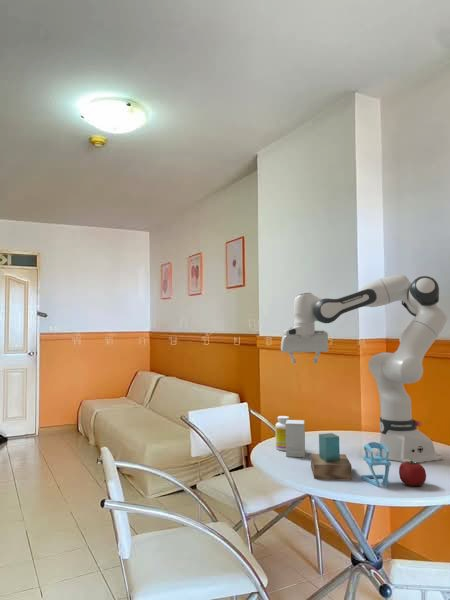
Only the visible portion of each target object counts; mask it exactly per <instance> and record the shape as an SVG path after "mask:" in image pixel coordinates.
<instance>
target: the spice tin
mask: <svg viewBox="0 0 450 600" xmlns="http://www.w3.org/2000/svg"><path fill="white" fill-rule="evenodd" d="M318 449H319V451H318V454H319V458H321V459H322V460H324V461H325V462H332V461H340V450H341V449H340V436H339V435H337V434H335V433H333V432H329V433H318Z"/></svg>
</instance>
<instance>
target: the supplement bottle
mask: <svg viewBox="0 0 450 600" xmlns="http://www.w3.org/2000/svg"><path fill="white" fill-rule="evenodd" d="M286 420H290V417H289V416H288V415H287V416H286V415H278V416H277V421H278V422H276V423H275V425H274V426H275V448H276V450H278V451H285V452H286Z"/></svg>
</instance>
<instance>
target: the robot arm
mask: <svg viewBox="0 0 450 600" xmlns="http://www.w3.org/2000/svg"><path fill="white" fill-rule="evenodd" d="M398 301H400V302H401V305H402V306H403V307H404V308H405V309H406V311H407V312H408V313H409V314H410V315H411V316H413V319H412V320H411V321H410V323H409V324H408V326H406V328H405V329H404V331H403V332H402V333H401V334H400V336H399V340H398V341H399V346H398V348H397V349H396V351H394V352H384V351H383V352H379V353H376V354H374V355H373V356H371V357H370V358H369V360H368V369H369V371H370V373H371V374H372V376H373V377H374V381H375V383H376V387H377V391H378V395H379V403H380V404H379V405H380V407H379V408H380V417H379V431H380V439H379V443H380V444H383V445H385V446H387V448H388V451H389V455H388V460H391V461H396V462H401V463H404V462H406V461H408V462H410V461H413V462H417V463H424V462H423V461H427V462H431V461H430V460H436V461H438V460H437V459H442V460H443V456H442V455H441V453H439V452H438V451H436V450H435V446H434V443H433V441H432V440H431V438H429V436H427V435H425V434H424V433H423V432H421V431H420V430H419V429H418V428H417V427H419V428H421V427H422V426H423V424H422V421H420V420H416V419H414V418H413V415H412V399H411V396H410V395H409V393H407V391H406V388H405V386H404V385H408V384H415V383H416V382H419V381H420V380H421V379H422V377H423V375H424V366H423V360H424V358H425V355H426V353H427V351H428V350H429V349H430V348H431V347H432V345H433V343H434V342H436V340H437V338H438V337H439V336H440V334H441V332H442V331H443V330H444V327H445V325H446V323H447V320H448V319H447V314H446V313H445V311H444V310H442V309H441V308H440V307H438V306H437V304H438V303H439V302H440V288H439V284H438V282H437V280H436V279H435V278H433V277H431V276H428V275H422V276H418V277H417V278H415V279H414V280H413V281H412V282H411V281H410V279H409V278H408V277H407V276H406V275H405V274H394V275H390V276H386V277H383V278H382V277H381V278H379V279H376V280H373V281H372V282H369V283H368V284H366V285H364V286H363V287H362V288H361V289H359V290H358V291H356V292H354V293H350V294H349V295H346V296H342V297H339V298H321V297H318V296H316V295H315V294H313V293H312V292H305V293H301V294H298V295H296V296H295V297H294V300H293V317H294V321H293V327H289V328H287V329H284V330H283V332H282V333H283V336H282V337H281V342H280V351H281V352H282V353H289V357H290V359H291V363H292V364H296V363H297V359H296V358H295V357H294V353H315V355H316V357H315V358H313V363H314V364H318V363H319V358H320V357H321V353H327V352H328V351H329V342H328V341H329V340H328V339H329V333H328V332H327V331H326V330H315V329H316V327H315V322H319V323H322V324H331V323H333V322H335V321H336V320H337V319H338V318H339V317H340V316H342V315H343V314H345V313H348V312H350V311H354V310H357V309H360V308H367V307H368V308H377V307H382V306H385V305H388V304H391V303H395V302H398ZM379 452H380V449H378V451H377V456H379ZM386 454H387V453H386V451H385V449H382V456H383V457H384V458H385V457H386Z"/></svg>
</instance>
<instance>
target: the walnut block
mask: <svg viewBox="0 0 450 600" xmlns="http://www.w3.org/2000/svg"><path fill="white" fill-rule="evenodd" d="M310 468H311V473H312V477H313V479H314V480H345V481H347V480H348V481H349V480H352V479H353V476H352V475H353V473H352V471H353V470H352V463H351V462H350V460H349V458H348V456H347V455H346V454H345V453H343V454H342V453H341V454H340V461H332V462H325V461H324V460H322V459H321V458H319V453H310Z"/></svg>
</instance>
